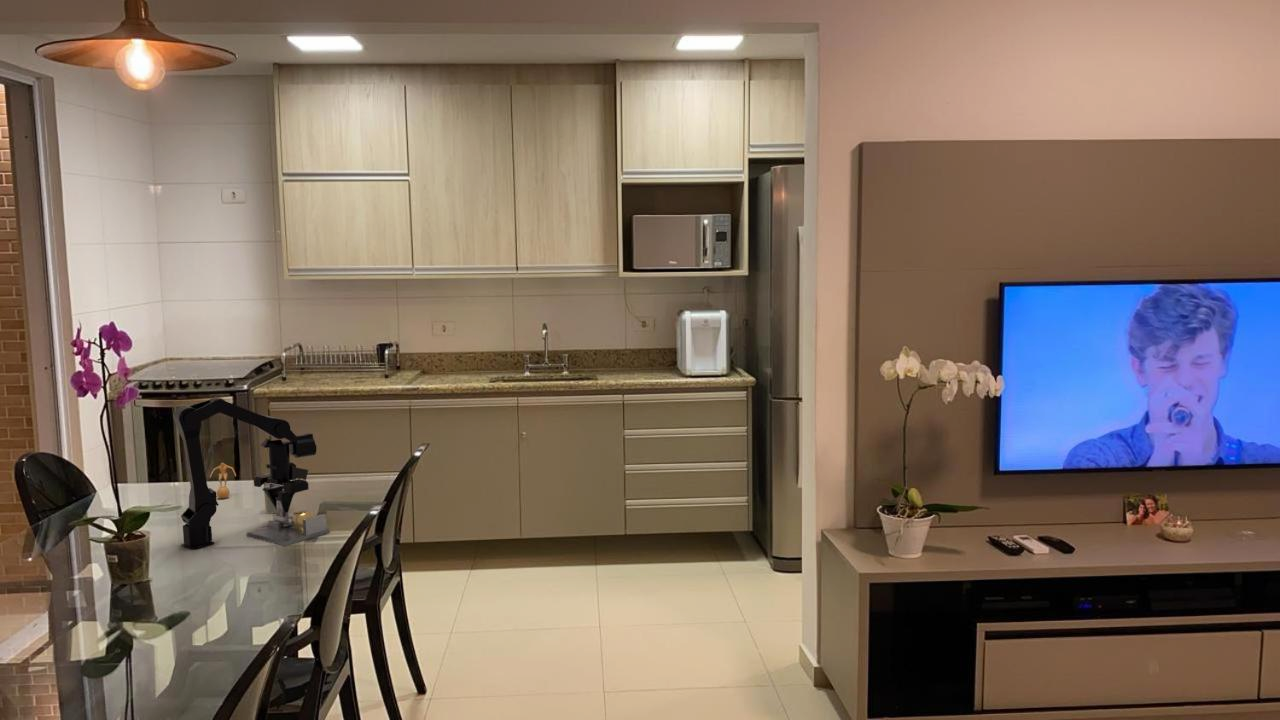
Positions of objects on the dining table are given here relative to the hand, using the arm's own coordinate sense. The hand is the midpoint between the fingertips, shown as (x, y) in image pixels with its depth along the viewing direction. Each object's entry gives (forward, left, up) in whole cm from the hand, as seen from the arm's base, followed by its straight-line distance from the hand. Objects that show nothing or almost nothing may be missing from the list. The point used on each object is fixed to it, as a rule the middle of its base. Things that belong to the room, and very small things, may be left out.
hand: (282, 511), depth 279 cm
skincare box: (+11, +19, -5) cm, 23 cm away
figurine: (+13, +51, -5) cm, 53 cm away
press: (-3, -7, -5) cm, 9 cm away
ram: (0, -1, -4) cm, 4 cm away
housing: (0, -10, -4) cm, 10 cm away
